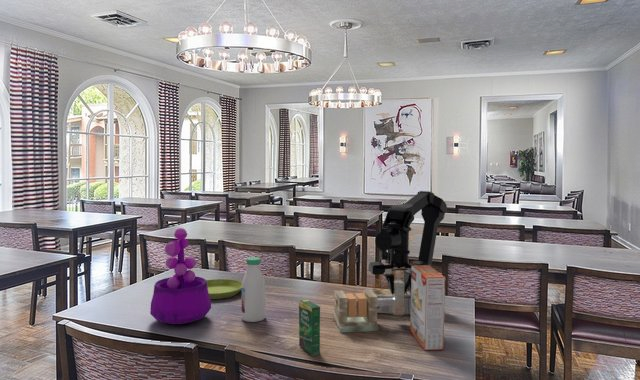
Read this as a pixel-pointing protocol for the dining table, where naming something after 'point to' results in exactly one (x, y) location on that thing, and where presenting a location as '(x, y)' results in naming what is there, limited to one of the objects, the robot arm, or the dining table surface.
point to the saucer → (223, 288)
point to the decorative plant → (180, 288)
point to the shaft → (393, 299)
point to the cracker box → (427, 307)
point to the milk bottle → (253, 292)
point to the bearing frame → (356, 322)
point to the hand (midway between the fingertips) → (398, 293)
